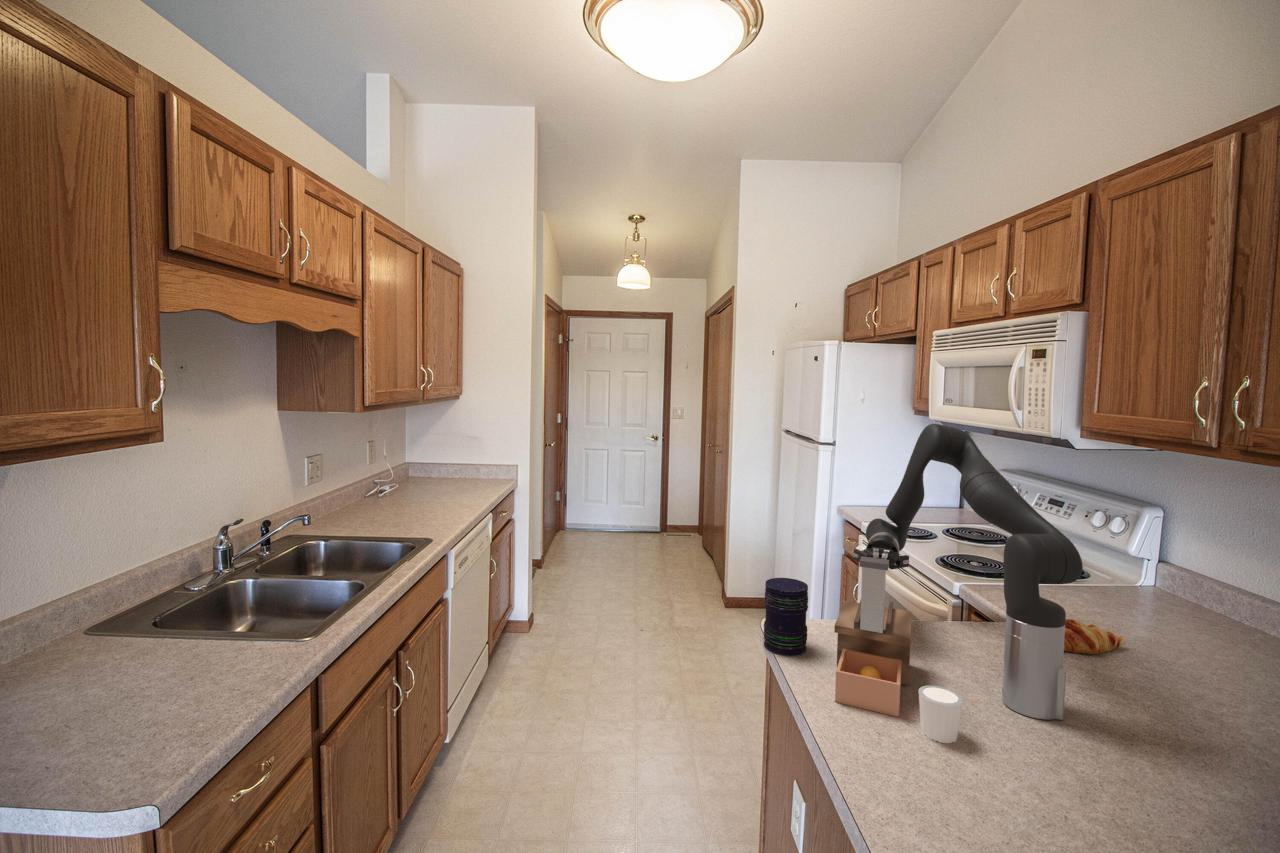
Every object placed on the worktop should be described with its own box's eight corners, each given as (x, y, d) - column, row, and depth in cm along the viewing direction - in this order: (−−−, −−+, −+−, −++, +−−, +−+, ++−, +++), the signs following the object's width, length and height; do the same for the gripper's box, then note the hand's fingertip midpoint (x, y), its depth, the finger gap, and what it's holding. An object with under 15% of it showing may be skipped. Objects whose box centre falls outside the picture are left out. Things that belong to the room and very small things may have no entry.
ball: (880, 694, 112) (881, 680, 115) (880, 677, 111) (881, 663, 114) (858, 689, 114) (860, 675, 117) (858, 672, 112) (860, 659, 116)
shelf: (909, 665, 125) (911, 604, 124) (908, 699, 110) (910, 631, 110) (842, 651, 131) (844, 594, 130) (832, 682, 116) (834, 618, 116)
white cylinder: (967, 748, 95) (969, 707, 95) (923, 742, 96) (924, 702, 96) (953, 725, 102) (955, 687, 101) (912, 720, 103) (913, 682, 103)
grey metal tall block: (886, 627, 114) (889, 559, 113) (885, 634, 111) (888, 564, 110) (858, 623, 116) (861, 556, 116) (857, 629, 113) (859, 560, 112)
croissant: (1111, 656, 138) (1100, 622, 141) (1145, 654, 129) (1133, 617, 132) (1025, 654, 138) (1016, 619, 141) (1053, 651, 129) (1044, 614, 132)
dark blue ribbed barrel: (759, 651, 130) (761, 587, 129) (766, 635, 139) (768, 575, 138) (804, 659, 126) (806, 594, 126) (808, 642, 136) (810, 580, 135)
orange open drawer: (900, 689, 114) (901, 660, 114) (898, 717, 104) (900, 685, 104) (842, 676, 119) (843, 648, 119) (834, 701, 109) (835, 671, 109)
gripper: (855, 531, 147) (848, 547, 132) (912, 537, 141) (911, 555, 126) (854, 560, 148) (847, 579, 132) (910, 567, 142) (910, 588, 126)
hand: (878, 567), depth 129 cm, fingers closed
